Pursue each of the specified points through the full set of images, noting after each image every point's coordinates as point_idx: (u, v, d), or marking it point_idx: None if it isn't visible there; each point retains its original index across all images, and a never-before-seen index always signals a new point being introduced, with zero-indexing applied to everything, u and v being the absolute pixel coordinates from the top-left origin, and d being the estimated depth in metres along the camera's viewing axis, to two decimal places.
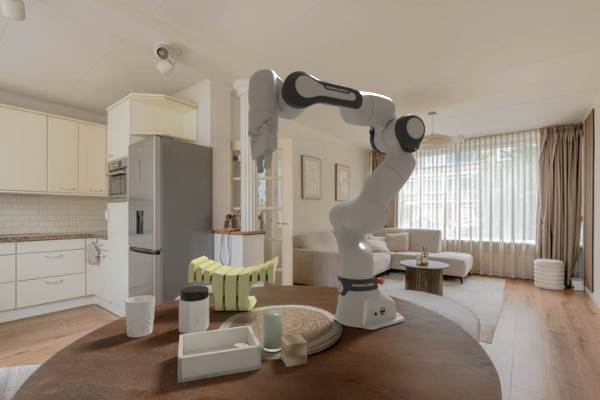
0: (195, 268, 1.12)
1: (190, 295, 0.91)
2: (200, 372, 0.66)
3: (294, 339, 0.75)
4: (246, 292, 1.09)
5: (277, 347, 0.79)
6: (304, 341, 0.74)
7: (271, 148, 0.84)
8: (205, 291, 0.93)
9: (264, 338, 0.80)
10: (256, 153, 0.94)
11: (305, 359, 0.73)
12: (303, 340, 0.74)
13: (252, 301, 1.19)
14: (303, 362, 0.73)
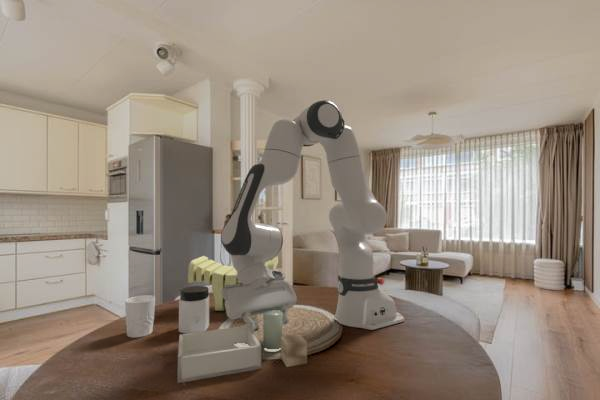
0: (195, 268, 1.12)
1: (190, 295, 0.91)
2: (200, 372, 0.66)
3: (294, 339, 0.75)
4: None
5: (277, 347, 0.79)
6: (304, 341, 0.74)
7: (231, 316, 0.79)
8: (205, 291, 0.93)
9: (264, 338, 0.80)
10: None
11: (305, 359, 0.73)
12: (303, 340, 0.74)
13: None
14: (303, 362, 0.73)
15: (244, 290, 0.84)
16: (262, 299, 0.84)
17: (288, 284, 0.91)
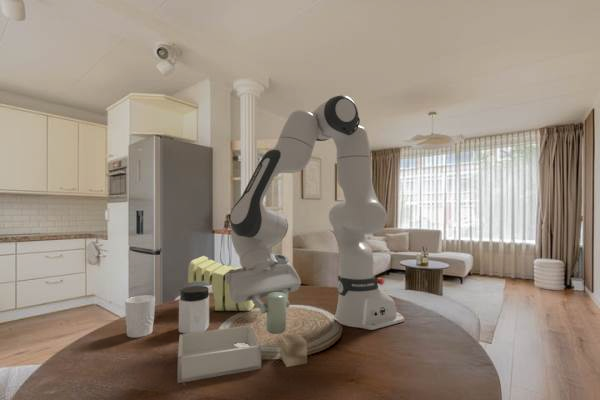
0: (195, 268, 1.12)
1: (190, 295, 0.91)
2: (200, 372, 0.66)
3: (294, 339, 0.75)
4: None
5: (280, 329, 0.79)
6: (304, 341, 0.74)
7: (236, 299, 0.79)
8: (205, 291, 0.93)
9: (268, 319, 0.80)
10: None
11: (305, 359, 0.73)
12: (303, 340, 0.74)
13: (252, 301, 1.19)
14: (303, 362, 0.73)
15: (248, 274, 0.84)
16: (266, 282, 0.84)
17: (291, 267, 0.91)
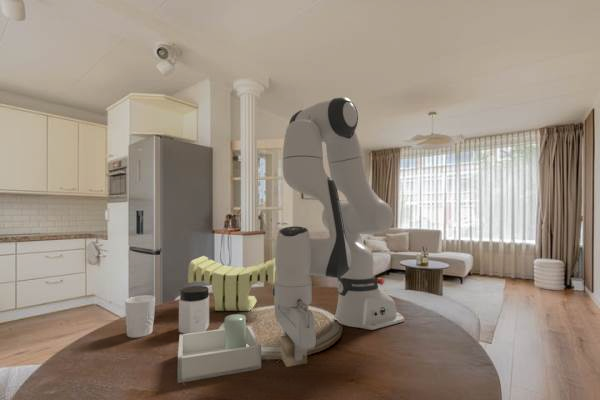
0: (195, 268, 1.12)
1: (190, 295, 0.91)
2: (200, 372, 0.66)
3: None
4: (246, 292, 1.09)
5: None
6: None
7: (308, 349, 0.66)
8: (205, 291, 0.93)
9: (226, 345, 0.74)
10: (284, 328, 0.76)
11: (305, 359, 0.73)
12: None
13: (252, 301, 1.19)
14: (303, 362, 0.73)
15: None
16: None
17: None
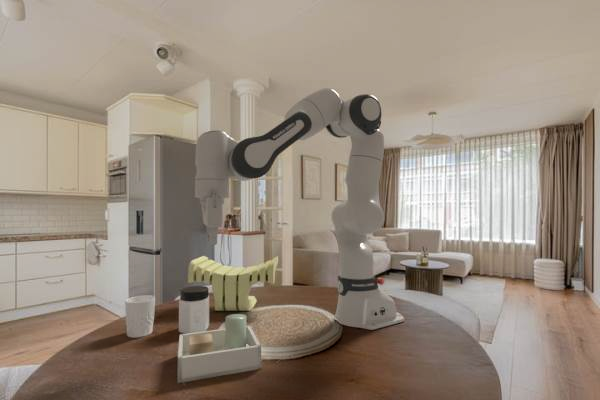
0: (195, 268, 1.12)
1: (190, 295, 0.91)
2: (200, 372, 0.66)
3: (201, 339, 0.73)
4: (246, 292, 1.09)
5: None
6: (210, 341, 0.72)
7: (215, 226, 0.75)
8: (205, 291, 0.93)
9: (228, 345, 0.73)
10: (204, 222, 0.85)
11: None
12: (210, 340, 0.72)
13: (252, 301, 1.19)
14: None
15: None
16: None
17: None
